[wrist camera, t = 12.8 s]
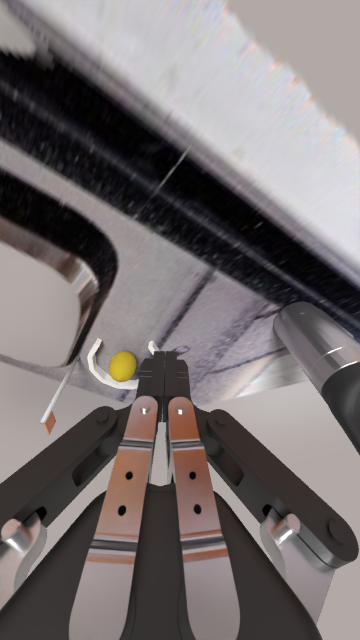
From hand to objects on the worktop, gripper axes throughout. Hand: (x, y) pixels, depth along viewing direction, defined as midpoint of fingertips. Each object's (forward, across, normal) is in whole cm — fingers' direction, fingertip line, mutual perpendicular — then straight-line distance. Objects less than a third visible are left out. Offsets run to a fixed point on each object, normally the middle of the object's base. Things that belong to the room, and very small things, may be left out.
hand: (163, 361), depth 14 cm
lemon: (+27, +8, +23) cm, 37 cm away
